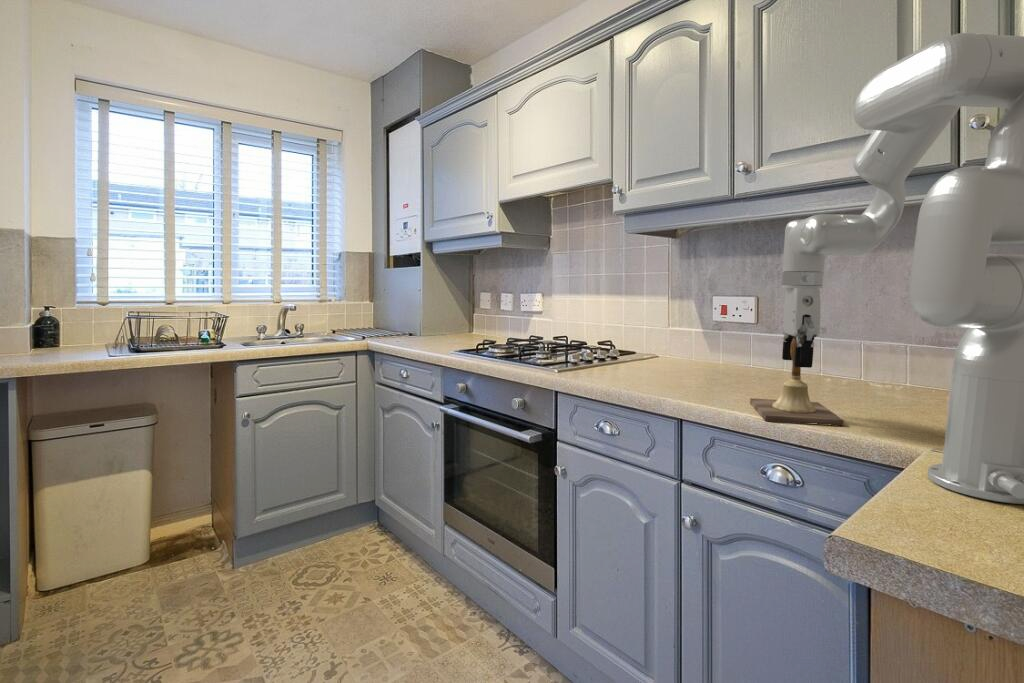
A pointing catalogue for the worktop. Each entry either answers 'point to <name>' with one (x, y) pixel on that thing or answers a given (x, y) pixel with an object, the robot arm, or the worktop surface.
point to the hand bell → (794, 391)
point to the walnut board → (777, 415)
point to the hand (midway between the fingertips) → (796, 363)
